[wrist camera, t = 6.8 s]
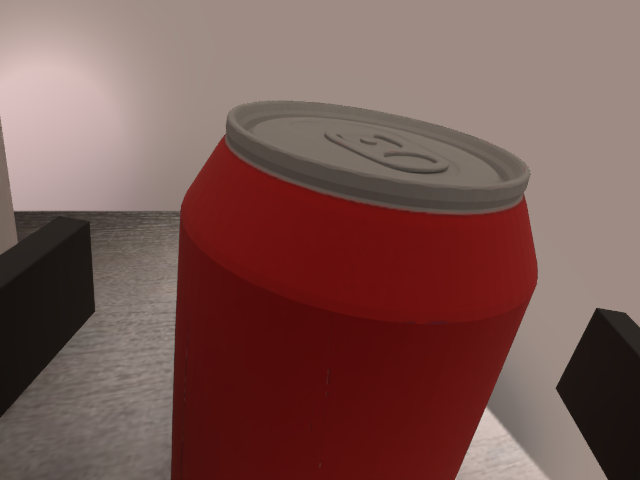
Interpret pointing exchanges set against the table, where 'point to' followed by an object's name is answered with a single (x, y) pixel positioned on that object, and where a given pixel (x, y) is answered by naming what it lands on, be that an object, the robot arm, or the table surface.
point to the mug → (5, 204)
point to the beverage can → (344, 295)
